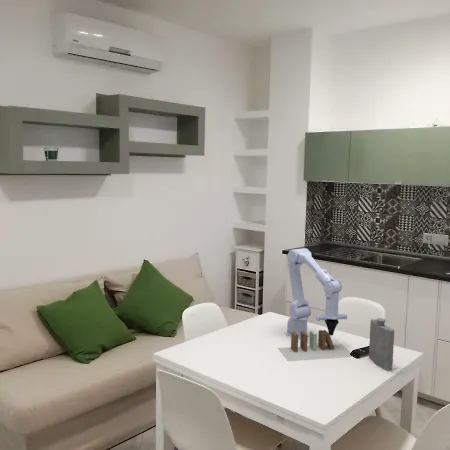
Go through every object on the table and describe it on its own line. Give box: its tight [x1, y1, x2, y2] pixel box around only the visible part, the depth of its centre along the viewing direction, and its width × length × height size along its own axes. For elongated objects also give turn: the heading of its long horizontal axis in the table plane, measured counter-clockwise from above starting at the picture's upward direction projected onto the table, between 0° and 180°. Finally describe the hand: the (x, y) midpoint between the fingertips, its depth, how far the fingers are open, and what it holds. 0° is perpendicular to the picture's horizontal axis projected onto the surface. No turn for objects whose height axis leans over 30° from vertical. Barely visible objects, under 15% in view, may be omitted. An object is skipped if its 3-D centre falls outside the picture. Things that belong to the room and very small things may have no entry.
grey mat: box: [277, 343, 353, 362], centre depth 233 cm, size 32×16×1 cm, turn 101°
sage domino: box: [308, 330, 318, 351], centre depth 236 cm, size 2×5×8 cm, turn 10°
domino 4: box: [323, 329, 335, 350], centre depth 238 cm, size 2×5×8 cm, turn 11°
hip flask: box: [368, 317, 395, 372], centre depth 220 cm, size 16×4×20 cm, turn 14°
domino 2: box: [299, 331, 309, 352], centre depth 235 cm, size 2×5×8 cm, turn 12°
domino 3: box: [317, 329, 327, 351], centre depth 237 cm, size 2×5×8 cm, turn 11°
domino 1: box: [290, 332, 299, 352], centre depth 235 cm, size 2×5×8 cm, turn 11°
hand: (330, 334), depth 238 cm, fingers closed
